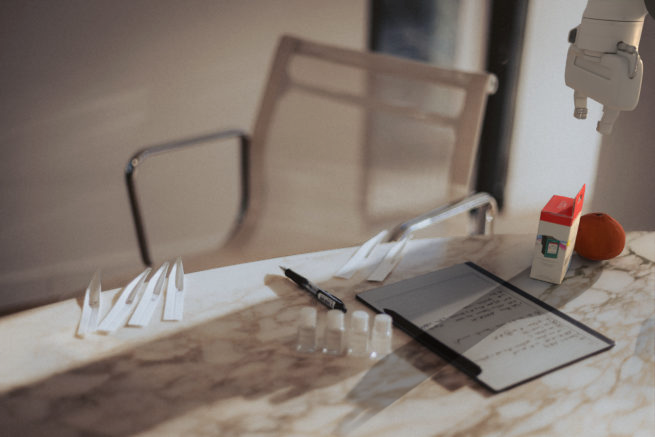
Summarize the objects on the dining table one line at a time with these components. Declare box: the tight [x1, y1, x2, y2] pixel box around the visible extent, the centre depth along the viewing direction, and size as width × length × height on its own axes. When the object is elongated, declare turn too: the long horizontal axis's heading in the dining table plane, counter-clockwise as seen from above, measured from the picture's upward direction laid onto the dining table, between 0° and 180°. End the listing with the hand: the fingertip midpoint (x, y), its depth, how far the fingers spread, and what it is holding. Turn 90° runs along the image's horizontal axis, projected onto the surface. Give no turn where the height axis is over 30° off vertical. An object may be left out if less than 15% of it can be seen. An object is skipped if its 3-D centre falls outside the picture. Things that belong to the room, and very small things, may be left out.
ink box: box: [529, 183, 587, 285], centre depth 99 cm, size 8×5×15 cm, turn 149°
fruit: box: [573, 211, 627, 261], centre depth 105 cm, size 9×9×8 cm
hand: (590, 125), depth 102 cm, fingers open, 8 cm apart
